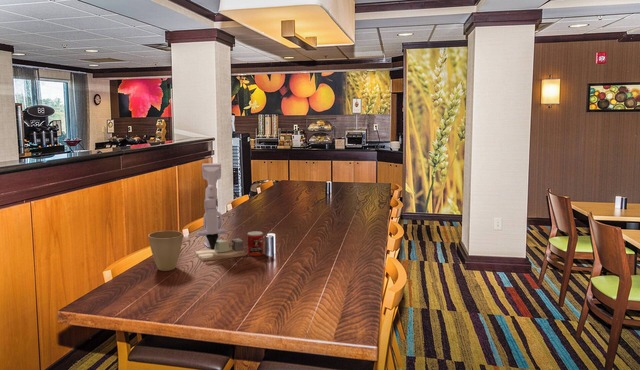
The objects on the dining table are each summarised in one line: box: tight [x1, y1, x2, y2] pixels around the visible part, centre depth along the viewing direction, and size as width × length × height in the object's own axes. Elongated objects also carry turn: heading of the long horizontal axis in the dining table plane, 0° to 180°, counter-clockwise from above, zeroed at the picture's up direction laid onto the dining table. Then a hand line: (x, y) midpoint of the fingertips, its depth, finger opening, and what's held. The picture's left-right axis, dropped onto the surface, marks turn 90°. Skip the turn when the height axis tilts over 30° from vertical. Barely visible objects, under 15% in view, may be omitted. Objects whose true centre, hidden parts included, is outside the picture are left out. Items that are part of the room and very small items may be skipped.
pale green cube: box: [214, 238, 230, 253], centre depth 248 cm, size 5×6×5 cm
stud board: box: [194, 238, 247, 262], centre depth 247 cm, size 14×22×6 cm, turn 118°
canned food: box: [246, 230, 264, 257], centre depth 248 cm, size 8×8×11 cm
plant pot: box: [147, 230, 184, 272], centre depth 224 cm, size 15×15×16 cm
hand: (212, 249), depth 246 cm, fingers closed
